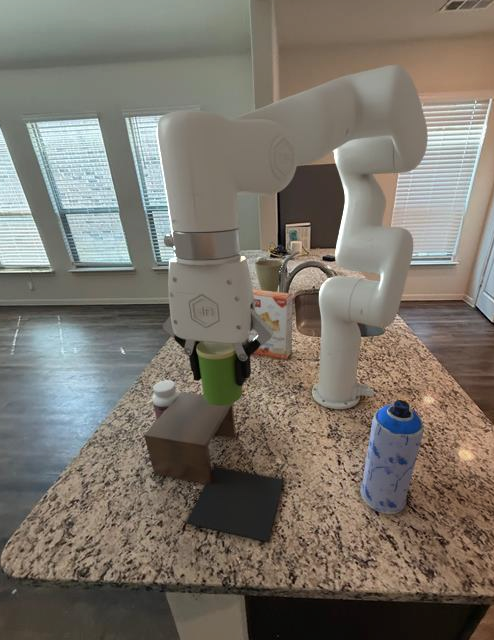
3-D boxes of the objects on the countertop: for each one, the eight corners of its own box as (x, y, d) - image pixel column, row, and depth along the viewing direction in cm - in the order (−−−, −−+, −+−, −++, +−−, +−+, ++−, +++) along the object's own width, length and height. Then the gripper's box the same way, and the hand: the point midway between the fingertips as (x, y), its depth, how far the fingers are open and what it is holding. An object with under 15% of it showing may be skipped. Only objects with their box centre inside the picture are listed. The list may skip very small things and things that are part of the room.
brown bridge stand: (236, 434, 70) (232, 398, 66) (211, 485, 58) (205, 445, 54) (187, 427, 73) (181, 391, 68) (154, 474, 61) (143, 435, 56)
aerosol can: (415, 509, 53) (442, 416, 44) (373, 518, 52) (392, 425, 43) (390, 473, 60) (409, 386, 51) (352, 480, 59) (365, 393, 50)
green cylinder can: (248, 385, 48) (245, 338, 44) (235, 408, 43) (230, 357, 39) (212, 381, 49) (207, 334, 45) (196, 403, 44) (188, 353, 40)
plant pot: (252, 296, 162) (251, 265, 154) (258, 288, 175) (257, 259, 167) (281, 297, 159) (281, 266, 152) (285, 289, 172) (285, 260, 165)
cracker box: (247, 353, 105) (243, 293, 96) (254, 346, 110) (251, 288, 101) (286, 360, 100) (286, 298, 91) (292, 352, 105) (293, 292, 96)
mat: (283, 480, 59) (283, 479, 59) (268, 542, 49) (268, 541, 49) (214, 468, 62) (214, 466, 62) (186, 523, 52) (186, 522, 52)
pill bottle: (185, 431, 72) (177, 391, 67) (157, 435, 71) (147, 395, 66) (185, 414, 77) (178, 376, 72) (159, 418, 76) (150, 380, 71)
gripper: (122, 249, 35) (153, 385, 43) (271, 253, 31) (274, 401, 39) (159, 240, 41) (180, 360, 50) (286, 242, 38) (286, 371, 46)
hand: (221, 377), depth 44 cm, fingers closed on green cylinder can, 5 cm apart
